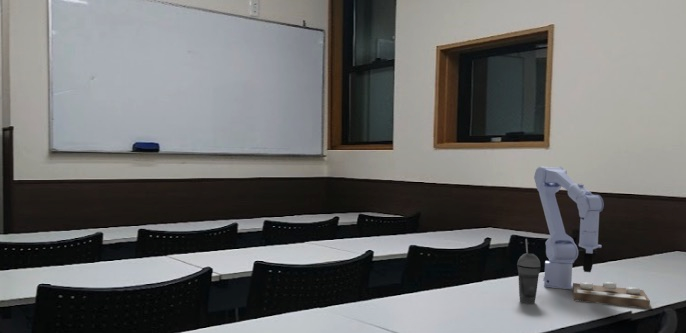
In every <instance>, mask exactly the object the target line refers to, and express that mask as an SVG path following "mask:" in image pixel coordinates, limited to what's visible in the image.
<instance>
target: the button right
mask: <svg viewBox="0 0 686 333" xmlns="http://www.w3.org/2000/svg"><path fill="white" fill-rule="evenodd" d="M625 288H626V293H629V294H640V290H641V288H639V287H635V286H626V287H625Z"/></svg>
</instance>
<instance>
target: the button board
mask: <svg viewBox="0 0 686 333" xmlns="http://www.w3.org/2000/svg"><path fill="white" fill-rule="evenodd" d="M572 286H573V289H572V293H573V294H572V295H573V301H578V302H585V303H595V304H602V305H610V306H611V305H614V306H620V307H621V306H623V307H631V308H640V309H649V310H650V309H651V308H650V306H651V304H650V303H651V301H650V299H649V297H648V296H647V294H646V292H645V291H644V289H640V294H629V293H626V287H617V286H616V289H607V288H603V285H595V284H593V289H592V290H587V289H582V288H580V283H578V282H576V283H574V282H572Z"/></svg>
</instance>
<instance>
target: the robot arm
mask: <svg viewBox="0 0 686 333" xmlns="http://www.w3.org/2000/svg"><path fill="white" fill-rule="evenodd" d="M533 179H534V183H535V186H536V190H537V191H538V193H539V194H538V195H539V199H540V202H541V206H542V210H543V212H544V213H543V214H544V216H545V221H546V224H547V228H548V231H549V237H548V238H547V240H546V241H545V255H546V257H547V258H548V260H545V261H544V276H543V278H542V279H543V280H542V281H543V284H544V285H543V286H544V287H545V288H556V289H564V290H573V282H572V278H573V264H574V263H575V261H576V260H577V259H578V256H579V254H580V257H581V260H582V261H581V262H582V269H583V273H591V272H592V269H593V264H594V261H595V259H596V257H597V256H598V250H597V249H601V248H602V244H599V227H600V226H599V225H600V212H603V211H604V210H603V209H604V207H605V206H604V199H603V197H602V196H601V195H600V194H593V193H592V191H590V190H588V189H587V188H586V187H585V186H584V184H583V183H576V182H574V180H572V178H570V176H569V175H568V173H567V170H566V169H565V168H564V167H562V166H559V167H556V166H555V167H554V166H553V167H551V166H538V167H537V168H536V170H535V172H534V176H533ZM561 188H563V189H565V190H566V191H567V196H568V197H569V198H570V199H571V200H572V201H573V202H574V203H575V204H576V206H577V209H578V215H579V216H578V217H580V219H579V220H580V222H579V239H578V240H579V242H578V246H577V244H576V243H575V241H574V238H573V237H572V236H570V235H569V234H567V233H566V229H565V226H564V222H563V218H562V216H561V211H560V208H559V205H558V202H557V198H556V193H557V192H559V191H560V189H561ZM578 247H580V248H582V249H578Z"/></svg>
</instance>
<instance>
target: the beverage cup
mask: <svg viewBox="0 0 686 333" xmlns="http://www.w3.org/2000/svg"><path fill="white" fill-rule="evenodd" d="M528 248H529V247H528V238H525V252H526V253H523V254H522V255H521V256H519V259H518V260H517V263H516V266H517V273H518V274H517V276H518V294H519V302H520V303H522V304H524V305H525V304H526V305H535V303H536V298H537V290H538V283H539V277H540V276H539V275H540V272H541V268H542V266H541V261H540V259H539V258H538V256H537V255H536V254H534V253H529V250H528Z"/></svg>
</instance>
